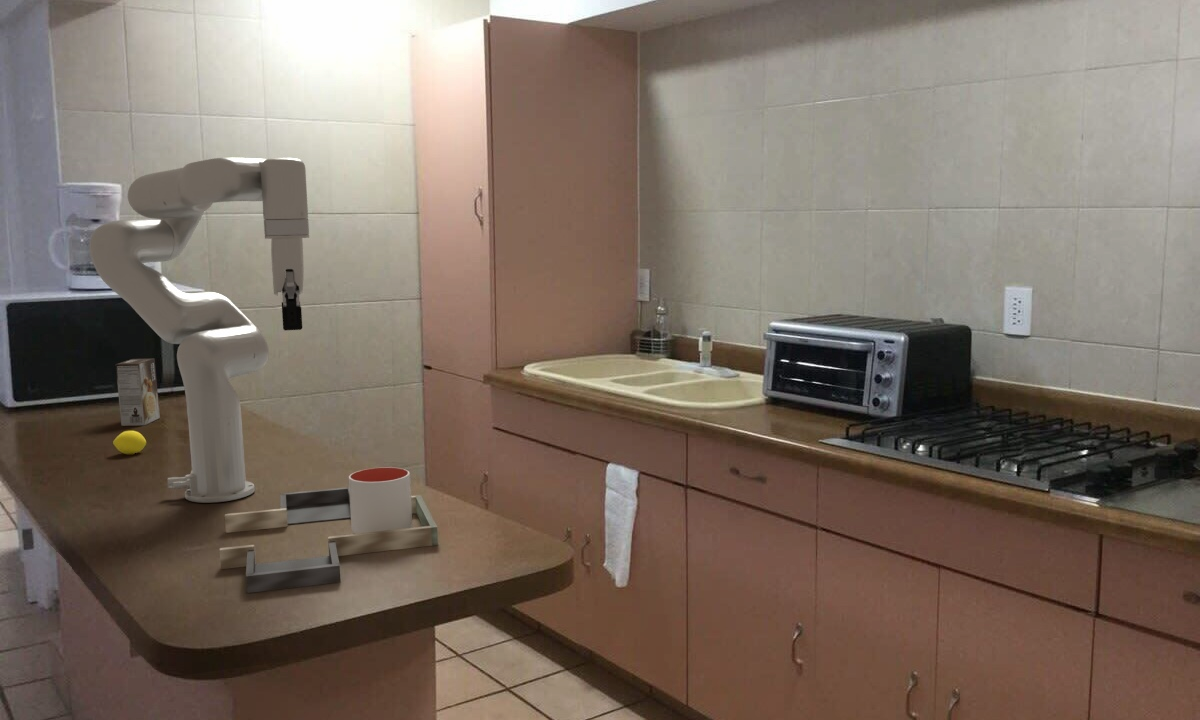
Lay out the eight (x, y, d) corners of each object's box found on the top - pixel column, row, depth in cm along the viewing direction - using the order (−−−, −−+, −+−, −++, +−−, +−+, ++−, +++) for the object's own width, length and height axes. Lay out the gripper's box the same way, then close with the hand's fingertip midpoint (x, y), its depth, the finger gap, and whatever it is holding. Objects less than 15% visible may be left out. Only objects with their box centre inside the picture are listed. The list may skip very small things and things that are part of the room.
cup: (360, 545, 171) (357, 485, 169) (345, 529, 179) (341, 472, 178) (420, 535, 175) (417, 477, 174) (402, 520, 184) (399, 464, 183)
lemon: (143, 452, 242) (145, 428, 242) (147, 456, 238) (149, 432, 237) (110, 452, 238) (111, 428, 238) (113, 456, 234) (115, 432, 233)
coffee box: (136, 418, 278) (131, 358, 276) (160, 418, 278) (155, 358, 276) (120, 426, 269) (114, 363, 267) (145, 425, 269) (140, 363, 267)
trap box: (217, 596, 149) (215, 576, 149) (229, 511, 191) (227, 495, 190) (449, 569, 159) (449, 549, 158) (412, 494, 200) (412, 478, 200)
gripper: (264, 229, 192) (270, 322, 195) (263, 231, 176) (270, 333, 178) (307, 228, 194) (312, 320, 197) (310, 230, 178) (316, 331, 181)
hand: (292, 326), depth 188 cm, fingers open, 9 cm apart
